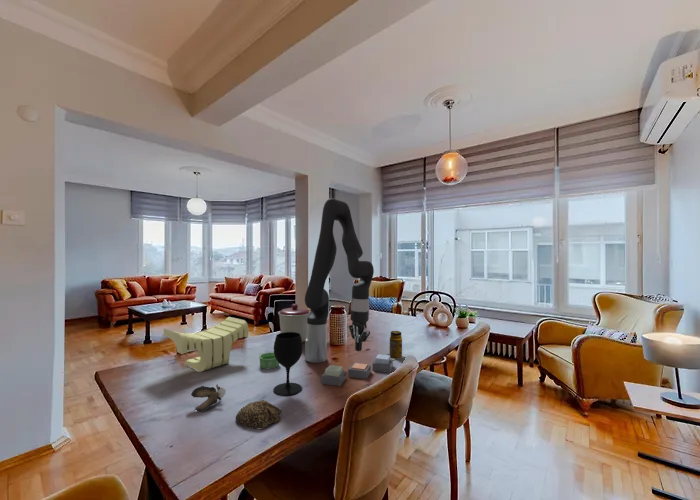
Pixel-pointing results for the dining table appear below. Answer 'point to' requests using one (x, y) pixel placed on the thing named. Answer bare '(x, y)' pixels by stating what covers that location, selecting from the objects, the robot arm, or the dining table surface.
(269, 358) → the ramekin
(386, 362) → the dusty blue button
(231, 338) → the slatted curved stool
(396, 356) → the condiment
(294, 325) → the canister
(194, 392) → the eagle figurine
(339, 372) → the sage green button
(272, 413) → the brown low domed lump
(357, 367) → the terracotta button
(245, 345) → the dining table surface
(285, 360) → the wine glass
